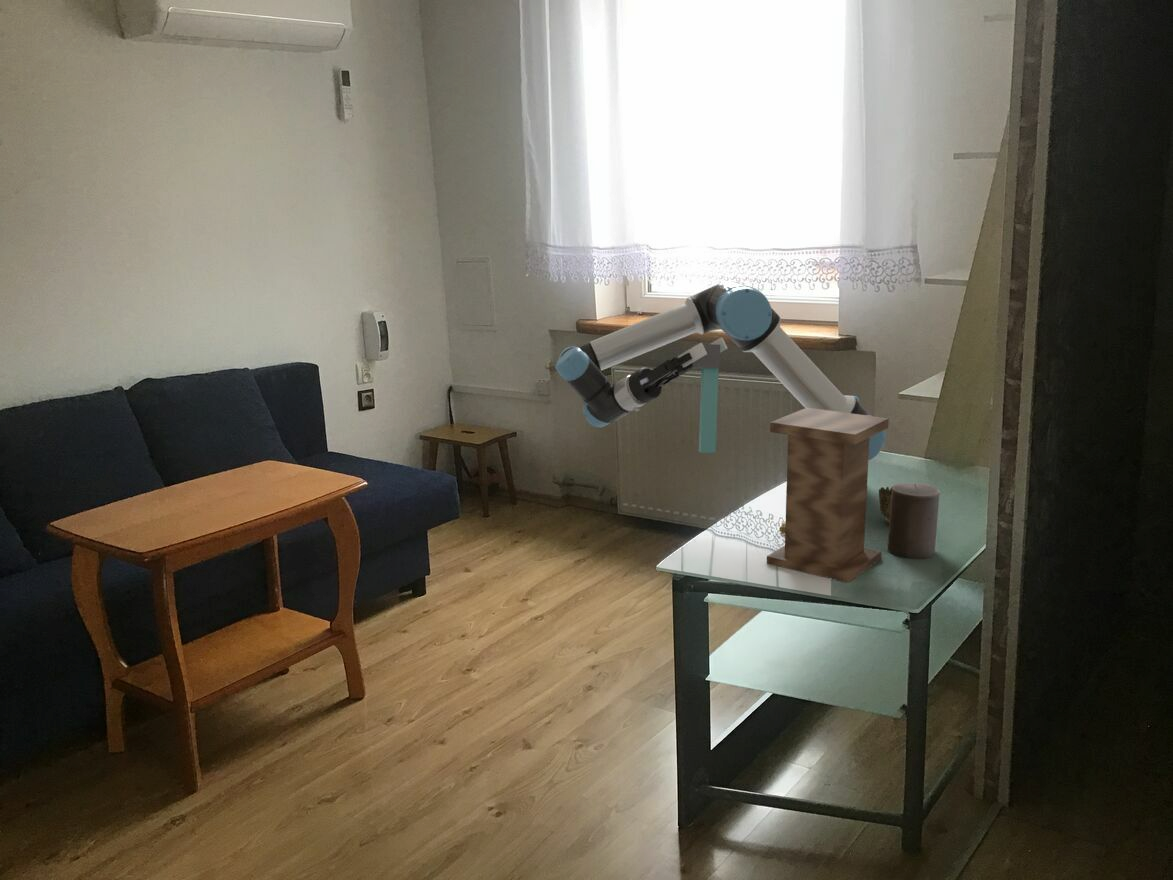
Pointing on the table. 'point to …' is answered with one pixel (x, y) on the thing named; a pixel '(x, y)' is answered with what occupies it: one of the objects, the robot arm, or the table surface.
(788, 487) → the shelf stand
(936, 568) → the table surface
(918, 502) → the pillar candle
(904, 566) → the table surface
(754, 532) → the table surface
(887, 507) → the cup
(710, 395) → the hammer
